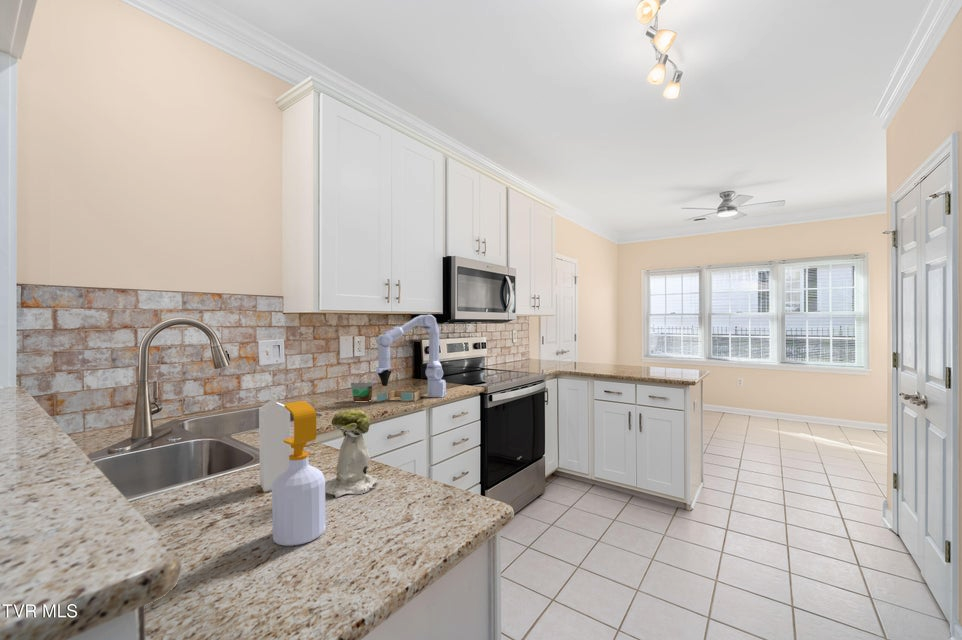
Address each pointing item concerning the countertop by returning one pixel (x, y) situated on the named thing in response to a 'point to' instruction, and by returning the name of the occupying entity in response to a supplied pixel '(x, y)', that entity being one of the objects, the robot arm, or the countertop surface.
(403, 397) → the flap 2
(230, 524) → the countertop surface
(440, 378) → the robot arm
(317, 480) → the soap bottle
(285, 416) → the white gable-top box
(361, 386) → the food container
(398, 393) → the carton
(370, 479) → the tree figurine
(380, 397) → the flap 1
